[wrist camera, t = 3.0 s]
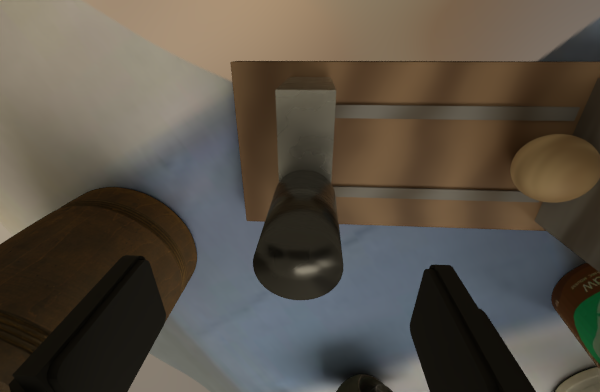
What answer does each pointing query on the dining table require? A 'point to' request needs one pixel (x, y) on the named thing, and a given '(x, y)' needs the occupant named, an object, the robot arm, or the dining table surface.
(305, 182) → the sliding jaw
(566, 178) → the walnut
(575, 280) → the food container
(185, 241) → the wooden container
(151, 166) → the dining table surface
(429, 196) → the base
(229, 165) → the dining table surface
